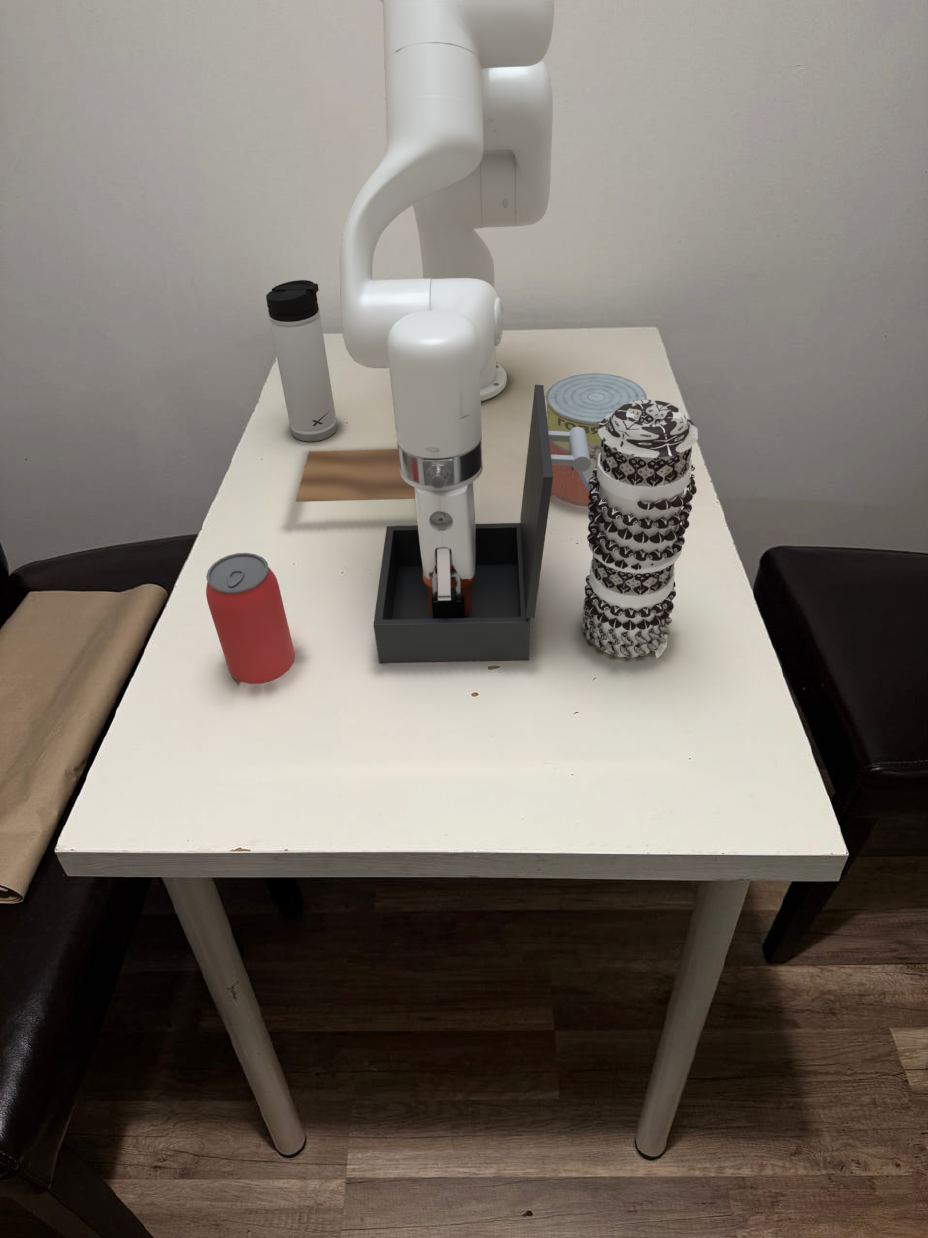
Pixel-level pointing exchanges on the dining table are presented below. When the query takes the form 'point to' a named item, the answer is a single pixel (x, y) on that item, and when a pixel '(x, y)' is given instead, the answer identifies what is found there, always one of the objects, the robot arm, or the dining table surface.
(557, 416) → the canned food
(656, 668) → the dining table surface
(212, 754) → the dining table surface
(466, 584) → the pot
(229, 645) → the beer can
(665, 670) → the dining table surface
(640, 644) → the decorative candle
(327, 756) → the dining table surface
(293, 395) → the travel mug
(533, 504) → the lid
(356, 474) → the mat
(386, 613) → the open hinged box
